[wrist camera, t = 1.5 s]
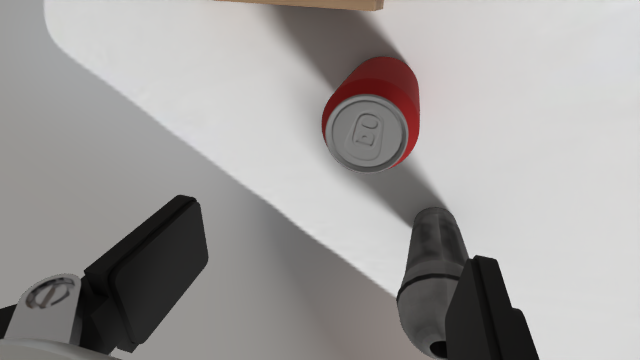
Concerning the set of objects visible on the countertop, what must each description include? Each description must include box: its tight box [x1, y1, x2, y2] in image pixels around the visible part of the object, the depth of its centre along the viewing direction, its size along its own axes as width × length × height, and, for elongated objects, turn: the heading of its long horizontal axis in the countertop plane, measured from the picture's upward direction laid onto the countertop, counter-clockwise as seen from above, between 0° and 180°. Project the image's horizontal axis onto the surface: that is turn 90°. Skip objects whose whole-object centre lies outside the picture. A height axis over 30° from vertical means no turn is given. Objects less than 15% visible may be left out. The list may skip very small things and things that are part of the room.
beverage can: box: [322, 57, 420, 174], centre depth 26 cm, size 7×7×12 cm
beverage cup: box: [396, 208, 469, 360], centre depth 28 cm, size 7×7×20 cm
